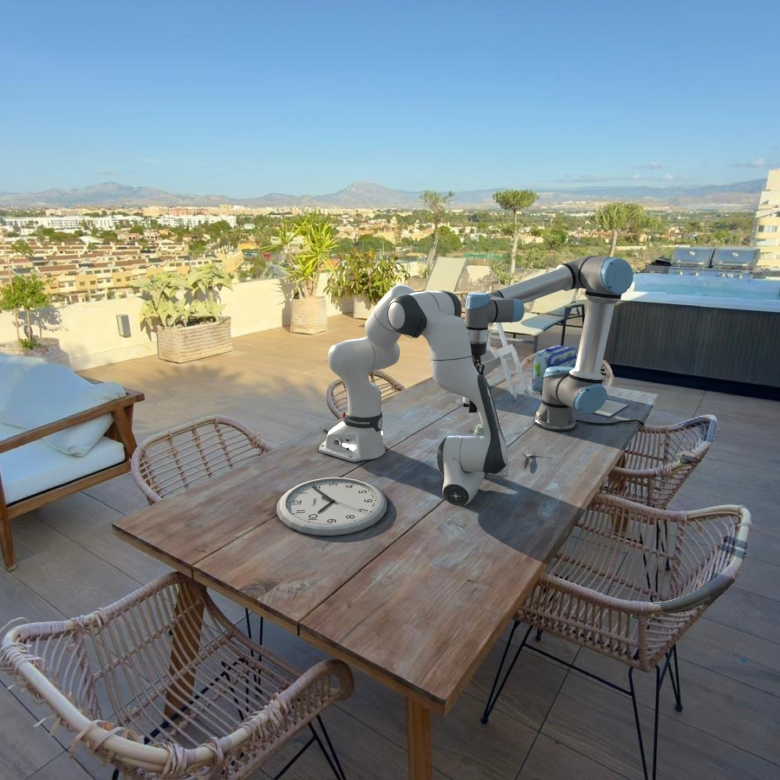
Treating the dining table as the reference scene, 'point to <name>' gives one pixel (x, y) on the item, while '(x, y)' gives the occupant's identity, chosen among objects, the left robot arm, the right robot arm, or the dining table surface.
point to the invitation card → (610, 408)
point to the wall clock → (331, 506)
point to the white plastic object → (503, 362)
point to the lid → (465, 400)
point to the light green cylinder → (479, 430)
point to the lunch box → (551, 363)
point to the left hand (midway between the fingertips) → (480, 452)
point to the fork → (528, 455)
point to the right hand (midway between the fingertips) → (469, 409)
